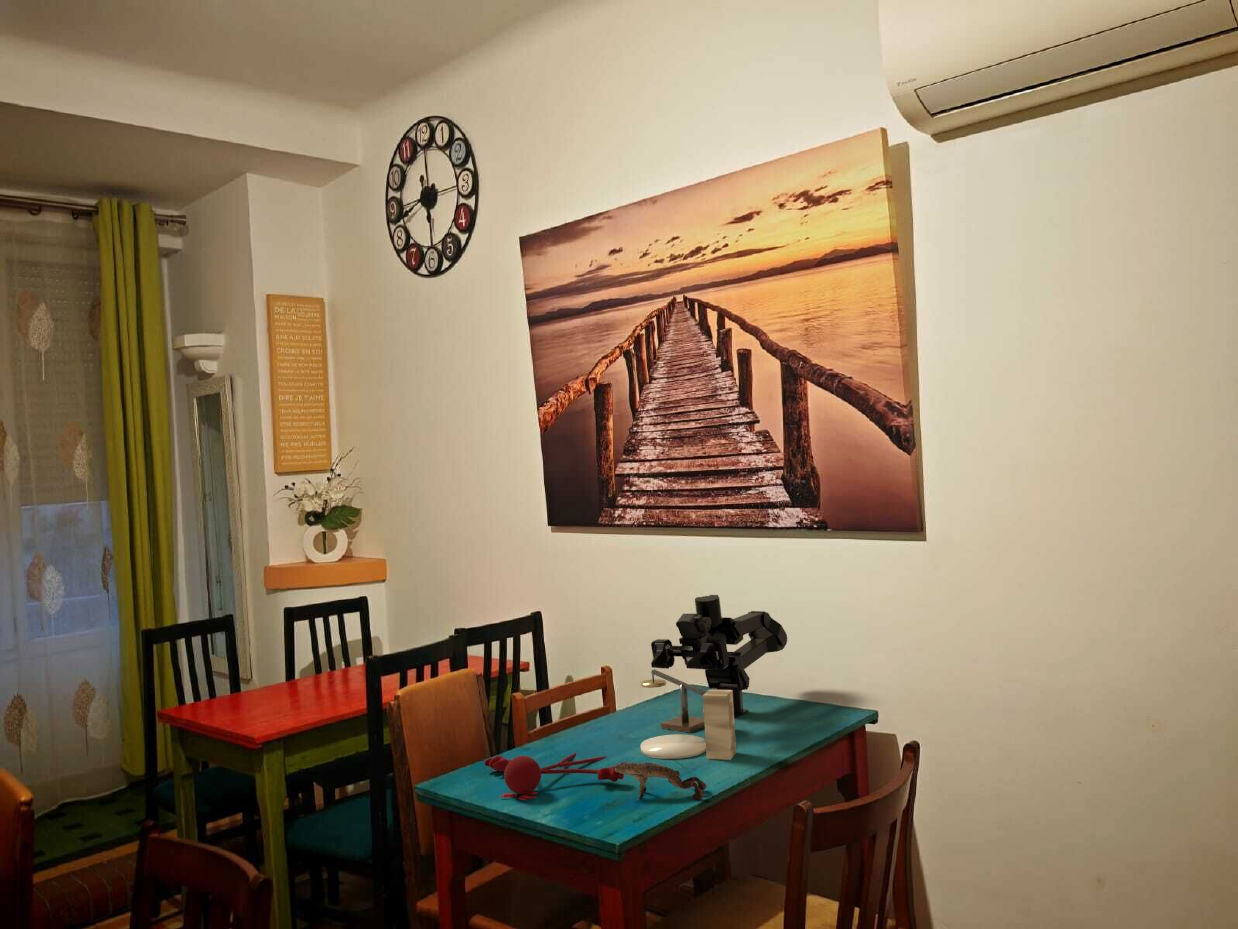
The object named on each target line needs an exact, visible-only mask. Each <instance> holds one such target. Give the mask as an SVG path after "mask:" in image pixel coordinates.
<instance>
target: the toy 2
mask: <svg viewBox="0 0 1238 929" xmlns="http://www.w3.org/2000/svg"><path fill="white" fill-rule="evenodd" d="M614 766H615V771H616V772H619V773H622V774H624V775H630V776H633V777H634V779H636V780H637V781H638V782H639V795H638V797H637V800H642V799H643V798H644V794H645V793H646V791H647V786H646V783H647V781H648V779H649V778H660V779H661V778H662V779H667V780H668V782H669V783H670V784H671V785H672V786H674V787H675V788H679V789H682V790H686V789H691V788H693V787H694V789H693V791H694V794H691V795H692V796H691V798H692V799H693V800H694V801H699V800H702V799H703V798H704V792H703V791H704V790H705V789H706V788H707V784H706V782H704V781H703V780H701V779H700V778H699V777H697V776H690V777H689V778H686V779H684V780H683V779H682V778H681V776H680V775H681V773H680V772H679V771H678V770H674V769H672V768H671V767H667V766H666V765H662V764H657V763H653V762H643V763H641V762H633V761H632V762H631V761H623V762H619V763H617V764H615V765H614Z"/></svg>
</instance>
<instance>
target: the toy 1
mask: <svg viewBox="0 0 1238 929" xmlns="http://www.w3.org/2000/svg"><path fill="white" fill-rule="evenodd" d="M576 753H577V752H574V753H571V754H570V755H568V756H566V757H564V758H562V759H561V760H560V761H559V762H558V763H555V764H551V765H548V766H544V767H540V765H539V763H538V762H537V761H536V760H535V759H534V758H532V757H530V756H527V755H519V756H516V757H514V758H512V759H507V758H505V757H504V756H502V755H495V756H494V757H490V758H486V759H485V760H484V764H483V765H484V766H485V767H488V768H489V767H490V768H491V769H492V770H495V771H496V772H501V771H502V772H503V771H504V772H503V773H504V774H503V776H504V777H503V778H504V783H505V785H506V786H507V788H508V789H509V790H510V791H511V792H512V793H509V792H506V793H503V795H499V797H500V798H513V797H514V798H515V797H518V799H519V800H521V801H527V800H531V799H537V798H539V797H537V796H534V795H537V794H539V792H538V791H535V790H536V789H537V787H538V786H539V785H540V783H541V780H542V775H550V774H551V775H554V774H555V775H557V774H591V775H592V774H593V775H597V779H598V780H599V781H604V780H609V781H611V782H613V783H616V782H617V781H618V780H624V777H625V776H624V775H625V774H622V773H619V772H616V771H615V766H616V765H613V766H609V767H601V768H600V769H593V768H592V769H591V768H565V767H571V766H577V765H582V764H583V765H584V764H589V763H595V762H598V761H600V760H603V759H605V758H607V756H606V755H605V756H604V755H603V756H598V757H592V758H585V759H580V760H573V761H570V760H572V759H574V758H575V757H576V756H577V754H576ZM563 767H564V768H563ZM557 768H558V769H557ZM519 795H520V796H519ZM532 795H533V796H532Z"/></svg>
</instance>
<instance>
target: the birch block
mask: <svg viewBox="0 0 1238 929" xmlns="http://www.w3.org/2000/svg"><path fill="white" fill-rule="evenodd" d="M705 692H706V693H705V694H704V695H703V696H702V702H703V703H702V704H703V709H704V714H703V718H704V723H705V727H704V736H705V740H706V751H705V752H706V760H727V761H728V760H729V761H731V760H732V759H733V757H734V756H735V755H736V753H737V746H736V745H737V744H736V727H735V717H734V707H733V690H717V689H708V690H706V691H705Z"/></svg>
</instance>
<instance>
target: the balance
mask: <svg viewBox="0 0 1238 929" xmlns="http://www.w3.org/2000/svg"><path fill="white" fill-rule="evenodd" d="M651 674H652V675H651V676H652V678H651V679H645V680H642V681H641V682H640V687H642V688H648V689H650V688H660V687H664V686H666V685H667V682H670V683H673V684H674V685H676V686H679V694H680V695H679V696H680V708H681V709H680V710H681V711H680V712H681V715H679V716H676V717H674V718H671V719H668V720H666V721H664V722H661V723H660V728H661V729H662V730H668V729H670V731H676V732H683V733H689V734H690V733H693V732H695V731H698V730H699V729H702V728H705V723H704V717H699V716H698V717H697V716H696V717H695V716H690V715H689V702H688V691H690V692H693V693H695V694H697V695H700V696H701V697H703V695H704V694H705V693H706V692H707V691H705V690H703V689H700V688H698V687H695V686H693V685H691V684H689V683H687V682H684V681H682V680H680V679H678V678H676V677H673V676H671V675H669V674H666V673H664V672H662V671H660V670H658V669H656V668H654V669H651ZM655 676H656V677H658V679H657V678H655ZM702 715H704V708H703V709H702Z"/></svg>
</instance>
